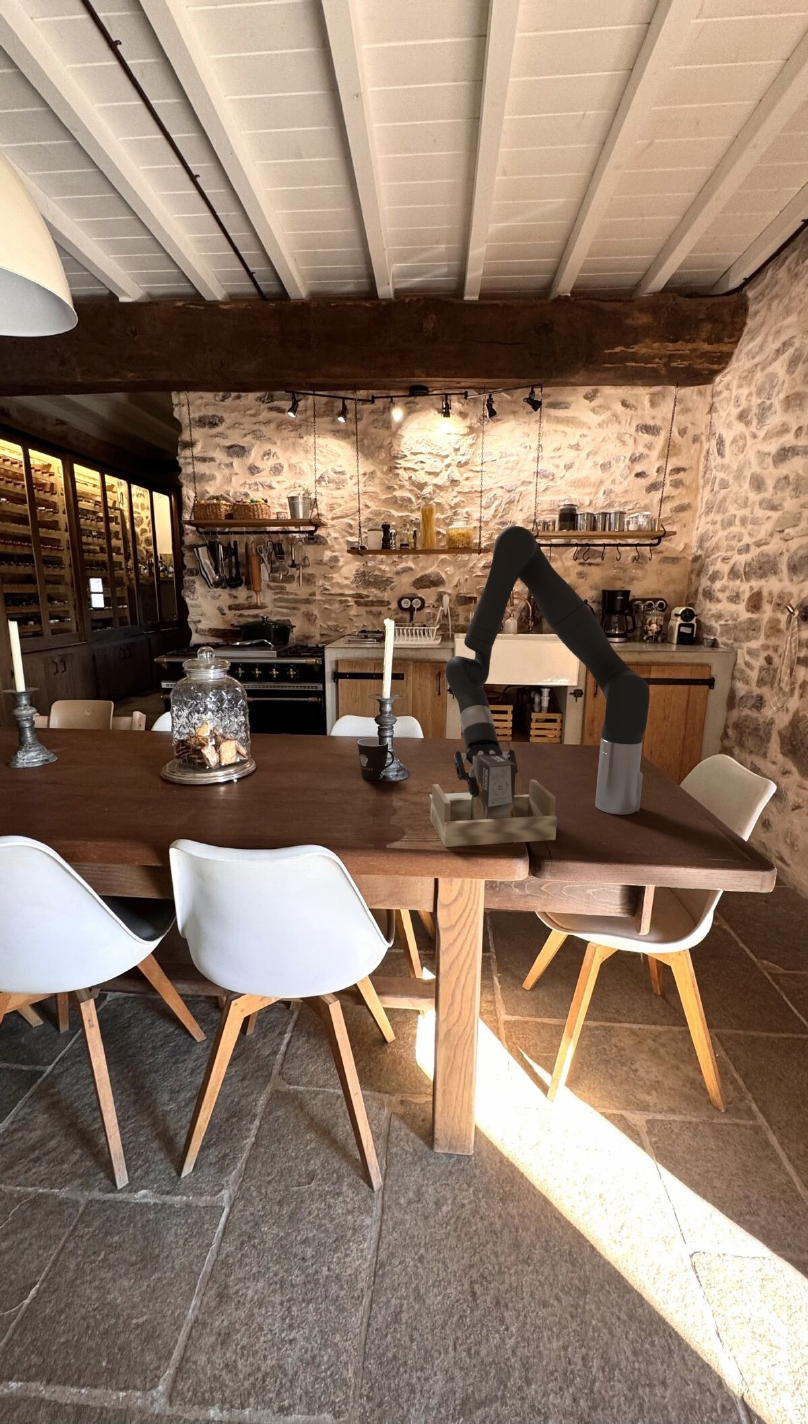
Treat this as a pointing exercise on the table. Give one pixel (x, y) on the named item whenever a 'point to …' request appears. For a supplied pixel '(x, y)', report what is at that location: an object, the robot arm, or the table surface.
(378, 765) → the coffee mug
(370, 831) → the table surface
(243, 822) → the table surface
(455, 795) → the white mat
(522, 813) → the wooden crate
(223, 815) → the table surface
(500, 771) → the coffee box
